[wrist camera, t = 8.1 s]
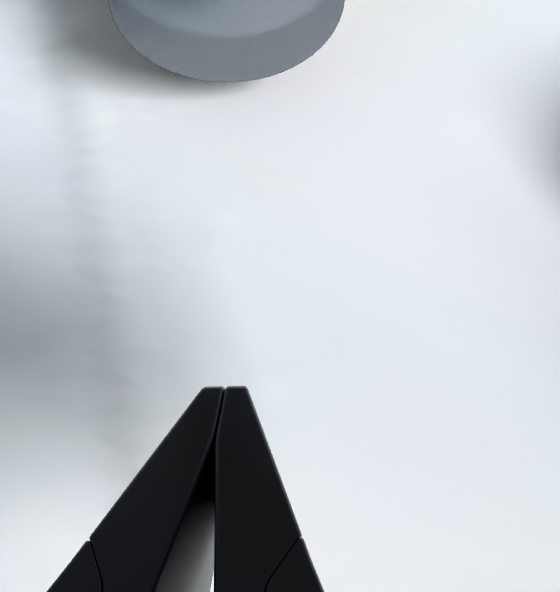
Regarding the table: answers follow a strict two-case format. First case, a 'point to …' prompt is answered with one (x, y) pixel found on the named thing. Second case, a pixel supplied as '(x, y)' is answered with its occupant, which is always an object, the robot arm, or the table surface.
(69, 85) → the table surface
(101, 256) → the table surface
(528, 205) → the table surface
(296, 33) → the shaft
